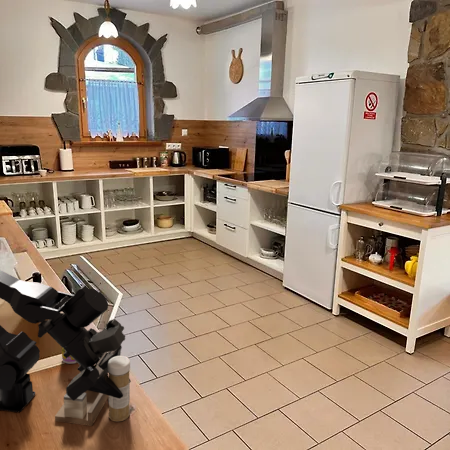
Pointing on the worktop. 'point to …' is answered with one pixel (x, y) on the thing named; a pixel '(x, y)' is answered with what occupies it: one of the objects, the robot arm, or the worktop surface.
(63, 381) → the worktop surface
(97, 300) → the robot arm
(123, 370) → the sprinkles bottle
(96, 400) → the walnut spice rack
